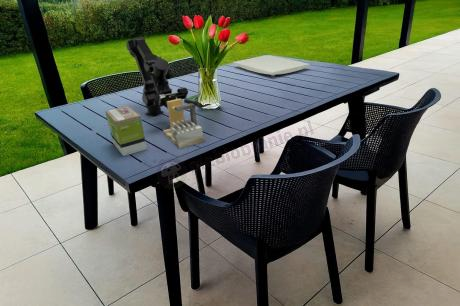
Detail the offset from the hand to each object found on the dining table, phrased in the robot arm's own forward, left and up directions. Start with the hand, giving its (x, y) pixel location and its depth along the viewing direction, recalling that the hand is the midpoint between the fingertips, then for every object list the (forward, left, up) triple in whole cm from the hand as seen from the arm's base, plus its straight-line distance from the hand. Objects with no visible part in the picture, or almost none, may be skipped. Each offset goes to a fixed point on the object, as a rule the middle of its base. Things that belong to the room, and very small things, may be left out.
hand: (173, 113), depth 152 cm
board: (-18, +115, -9) cm, 117 cm away
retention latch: (+4, -2, -6) cm, 8 cm away
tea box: (-6, -21, -8) cm, 23 cm away
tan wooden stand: (+8, -4, -8) cm, 12 cm away
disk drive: (-16, +36, -9) cm, 40 cm away
